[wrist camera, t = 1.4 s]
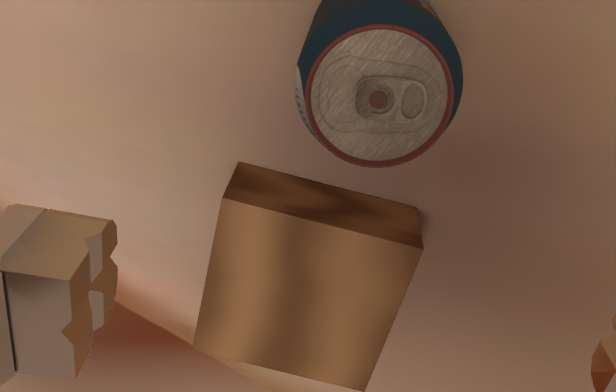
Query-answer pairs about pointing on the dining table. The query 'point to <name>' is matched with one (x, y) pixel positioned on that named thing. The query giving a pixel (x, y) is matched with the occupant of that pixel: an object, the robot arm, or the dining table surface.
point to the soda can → (377, 80)
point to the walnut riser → (305, 276)
